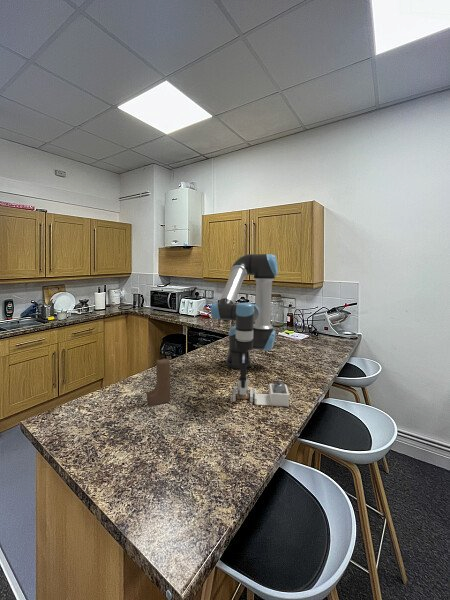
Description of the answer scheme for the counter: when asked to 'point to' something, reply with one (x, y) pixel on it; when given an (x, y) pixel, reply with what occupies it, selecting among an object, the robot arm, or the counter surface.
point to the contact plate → (243, 397)
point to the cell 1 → (246, 388)
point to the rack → (272, 397)
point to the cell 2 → (279, 387)
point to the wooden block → (161, 384)
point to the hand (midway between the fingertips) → (243, 391)
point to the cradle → (250, 394)
